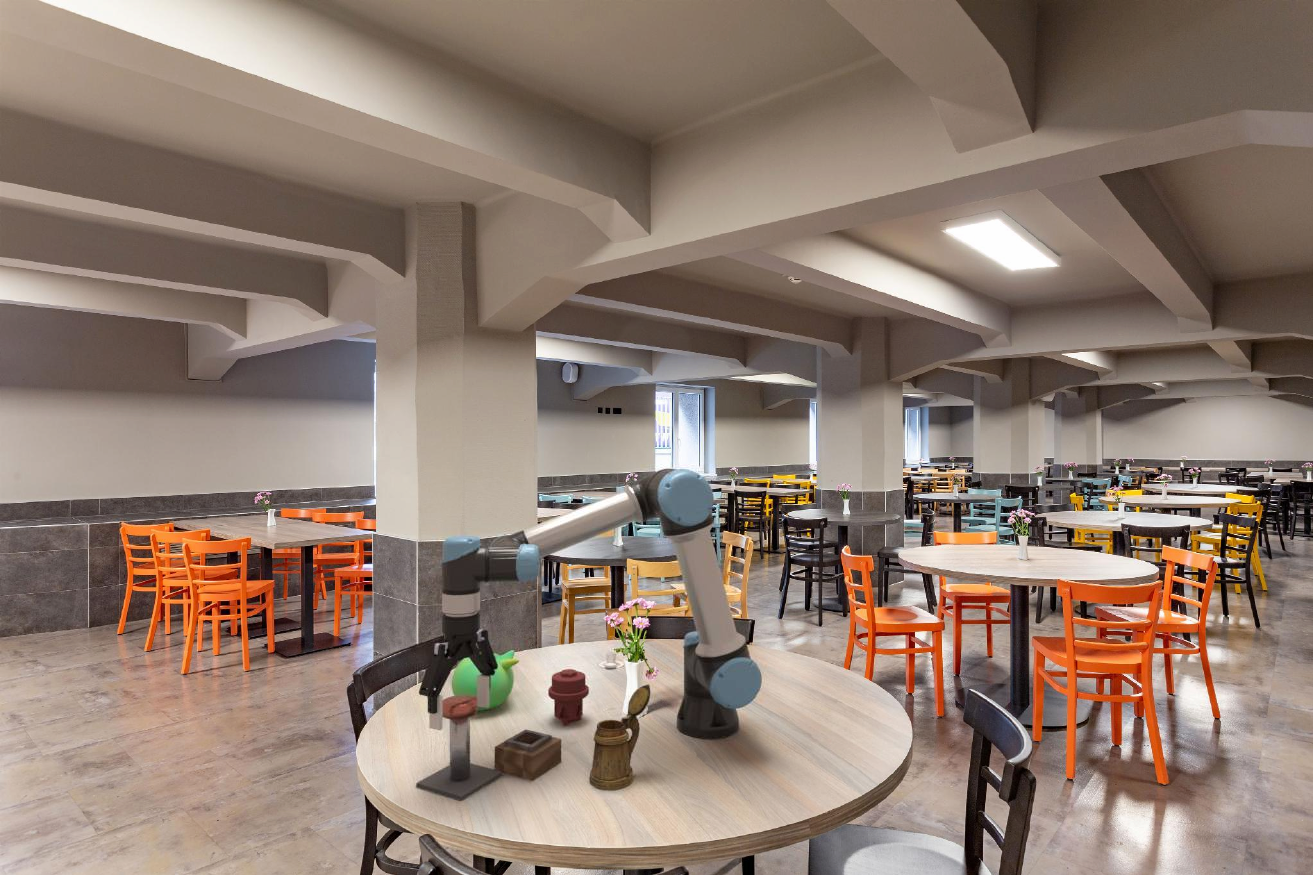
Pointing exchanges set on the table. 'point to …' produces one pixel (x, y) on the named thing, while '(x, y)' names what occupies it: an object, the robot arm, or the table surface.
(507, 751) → the eye block
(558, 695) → the mechanical component
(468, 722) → the peg
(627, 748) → the wooden mug
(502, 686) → the toy bird
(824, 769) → the table surface
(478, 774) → the rubber mat
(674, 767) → the table surface
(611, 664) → the white ring with peg
